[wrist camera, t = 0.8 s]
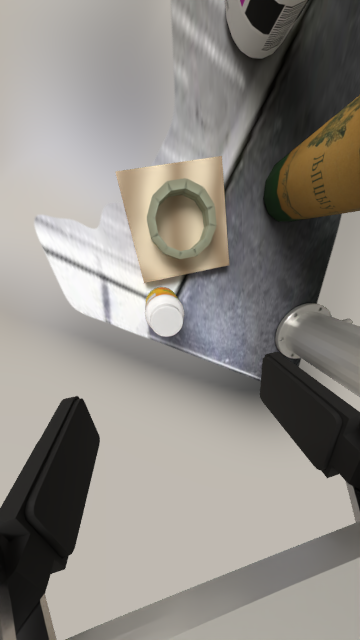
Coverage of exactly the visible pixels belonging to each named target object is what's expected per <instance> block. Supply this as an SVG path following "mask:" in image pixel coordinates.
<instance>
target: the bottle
mask: <svg viewBox="0 0 360 640" xmlns="http://www.w3.org/2000/svg"><path fill="white" fill-rule="evenodd" d="M264 202H265V205H266V208H267V211H268V214H270V215H271V216H272V217H273V218H274V219H276V220H277V221H296V220H303V219H309V218H316V217H322V216H329V215H335V214H342V213H348V212H355V211H360V96H358V97H357V98H356V99H355V100H354V101H352V102H351V103H350V104H349V105H347V106H346V107H345V108H344V109H343V110H341V111H340V112H339V113H338V114H336V115H335V116H334V117H333V118H332V119H330V120H329V121H328V122H327V123H326V124H324V125H323V126H322V127H321V128H319V129H318V130H317V131H316V132H315V133H313V134H312V135H311V136H310V137H308V138H307V139H306V140H305V141H304V142H302V143H301V144H300V145H299V146H297V147H296V148H295V149H294V150H293V151H291V152H290V153H289V154H288V155H287V156H285V157H284V158H283V159H282V160H280V161H279V162H278V163H277V164H276V165H275V166H274V167H273V169H272V171H271V173H270V175H269V176H268V178H267V180H266V184H265V192H264Z"/></svg>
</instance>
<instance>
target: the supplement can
mask: <svg viewBox="0 0 360 640" xmlns="http://www.w3.org/2000/svg"><path fill="white" fill-rule="evenodd" d="M308 1H309V0H225V6H226V18H227V22H228V26H229V29H230V32H231V35H232V38H233V40H234V42H235V43H236V45H237V46H238V48H239V49H240V51H242V52H243V53H244V54H246V55H247V56H249V57H251V58H260V59H263V58H265V57H267V56H269V55H271V54H273V53H274V52H275V51H276V49H277V48H278V47H279V46H280V45H281V44H282V42H283V41H284V39H285V38H286V36H287V34H288V33H289V31H290V30H291V28H292V27H293V25H294V23H295V22H296V20H297V19H298V17H299V15H300V14H301V12H302V11H303V9H304V8H305V6H306V4H307V3H308Z"/></svg>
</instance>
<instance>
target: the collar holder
mask: <svg viewBox="0 0 360 640" xmlns="http://www.w3.org/2000/svg"><path fill="white" fill-rule="evenodd" d="M116 176H117V180H118V183H119V187H120V191H121V195H122V199H123V203H124V207H125V211H126V215H127V218H128V222H129V226H130V230H131V234H132V238H133V242H134V246H135V249H136V253H137V257H138V261H139V265H140V269H141V273H142V277H143V280H144V283H146V282H151V281H156V280H160V279H165V278H170V277H175V276H179V275H184V274H189V273H194V272H199V271H203V270H208V269H213V268H218V267H222V266H227V265H229V257H228V242H227V227H226V212H225V197H224V182H223V167H222V156H219V157H212V158H205V159H198V160H192V161H185V162H178V163H171V164H164V165H157V166H151V167H144V168H137V169H130V170H123V171H116Z"/></svg>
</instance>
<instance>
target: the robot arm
mask: <svg viewBox="0 0 360 640" xmlns="http://www.w3.org/2000/svg"><path fill="white" fill-rule="evenodd" d="M352 323H353V321H352V320H351V319H345V320H339V319H336V318H333V317H331V314H330V312H329V310H328V309H327V308H326V307H324V306H322V305H319V304H315V303H307V304H302V305H300V306H298V307H296V308H294V309H293V310H291V311H290V312H289V313H288V314H287V315H286V316H285V317H284V318H283V319H282V321H281V323H280V324H279V326H278V328H277V332H276V337H275V341H276V346H277V348H278V350H279V351H280V352H281V353H282V354H283V355H285V356H286V357H289V358H294V359H297V358H303V359H304V360H305V361H307V362H308V363H310V364H311V365H313V366H314V367H316V368H317V369H319V370H320V371H322V372H323V373H325V374H326V375H328V376H329V377H330V378H332V379H333V380H335V381H336V382H338V383H339V384H341V385H342V386H344V387H345V388H347V389H348V390H350V391H351V392H353V393H354V394H356V395H357V396H359V397H360V327H359V326H356V325H353V324H352ZM283 355H281V354H280V353H278V352H274V353H269V354H266V355H265V357H264V358H263V364H262V376H261V388H260V397H261V399H262V401H263V403H264V404H265V405H266V407H267V408H268V409H269V410H270V411H271V413H272V414H273V415H274V417H275V418H276V419H277V420H278V421H279V423H280V424H281V425H282V427H283V428H284V429H285V430H286V431H287V433H288V434H289V435H290V436H291V438H292V439H293V440H294V442H295V443H296V444H297V445H298V446H299V448H300V449H301V450H302V451H303V453H304V454H305V455H306V457H307V458H308V459H309V460H310V461H311V463H312V464H313V465H314V466H315V467H316V468H317V469H318V470H321V471H322V472H323V473H324V474H325V476H326V477H327V478H329V477H332V476H335V475H338V474H340V475H341V476H342V477H343V478H344V479H345V481H346V484H347V488H348V492H349V496H350V500H351V504H352V508H353V512H354V517H355V521H356V523H354V524H352V525H349V526H347V527H344V528H342V529H339V530H336V531H334V532H331V533H329V534H326V535H324V536H321V537H319V538H316V539H313V540H311V541H308V542H306V543H303V544H301V545H298V546H296V547H293V548H290V549H288V550H285V551H283V552H280V553H278V554H275V555H273V556H270V557H268V558H265V559H263V560H260V561H258V562H255V563H252V564H250V565H248V566H245V567H243V568H240V569H238V570H235V571H232V572H230V573H227V574H225V575H222V576H220V577H218V578H215V579H213V580H210V581H207V582H205V583H202V584H200V585H197V586H195V587H192V588H190V589H187V590H185V591H182V592H180V593H178V594H175V595H172V596H170V597H167V598H165V599H162V600H160V601H158V602H155V603H153V604H150V605H148V606H145V607H143V608H140V609H138V610H135V611H133V612H130V613H128V614H125V615H123V616H120V617H118V618H115V619H113V620H111V621H108V622H106V623H103V624H101V625H98V626H96V627H94V628H91V629H89V630H87V631H84V632H82V633H80V634H78V635H75V636H73V637H70V638H68V639H66V640H360V412H359V411H357V410H356V409H355V408H353V407H352V406H351V405H349V404H348V403H346V402H345V401H344V400H343V399H341V398H340V397H338V396H337V395H336V394H334V393H333V392H332V391H330V390H329V389H328V388H326V387H325V386H323V385H322V384H321V383H319V382H318V381H317V380H315V379H314V378H313V377H311V376H310V375H308V374H307V373H306V372H304V371H303V370H302V369H300V368H299V367H298V366H296V365H295V364H294V363H292V362H291V361H289V360H288V359H287V358H285V357H284V356H283ZM99 442H100V438H99V434H98V432H97V430H96V428H95V425H94V423H93V421H92V418H91V416H90V414H89V412H88V409H87V407H86V404H85V402H84V400H83V399H79V397H78V396H76V397H71V398H66V399H63V400H62V401H61V403H60V405H59V406H58V408H57V410H56V412H55V413H54V415H53V417H52V419H51V421H50V422H49V424H48V426H47V428H46V429H45V431H44V433H43V435H42V437H41V438H40V440H39V441H38V443H37V444H36V446H35V448H34V450H33V451H32V453H31V455H30V457H29V459H28V460H27V462H26V464H25V466H24V467H23V469H22V471H21V473H20V474H19V476H18V478H17V480H16V482H15V483H14V485H13V487H12V489H11V490H10V492H9V494H8V496H7V497H6V499H5V501H4V503H3V504H2V506H1V508H0V640H56V636H55V632H54V628H53V625H52V620H51V616H50V612H49V608H48V605H47V601H46V597H45V591H46V587H47V584H48V581H49V577H50V574H52V573H55V572H58V571H61V570H64V569H65V568H66V564H67V559H68V556H69V555H70V554H72V552H73V550H74V548H75V544H76V540H77V536H78V532H79V528H80V524H81V519H82V515H83V511H84V507H85V502H86V498H87V494H88V489H89V486H90V481H91V477H92V472H93V469H94V464H95V460H96V456H97V452H98V448H99Z"/></svg>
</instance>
